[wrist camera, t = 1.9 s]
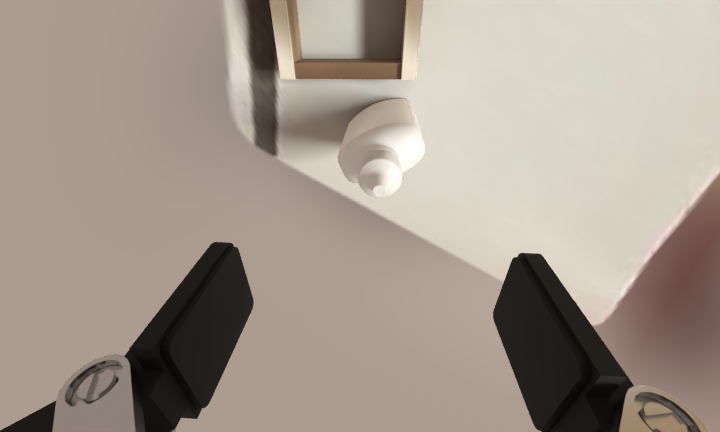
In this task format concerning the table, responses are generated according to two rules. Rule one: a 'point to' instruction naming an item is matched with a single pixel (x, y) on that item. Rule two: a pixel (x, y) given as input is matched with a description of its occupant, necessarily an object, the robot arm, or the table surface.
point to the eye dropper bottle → (381, 146)
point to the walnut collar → (301, 68)
